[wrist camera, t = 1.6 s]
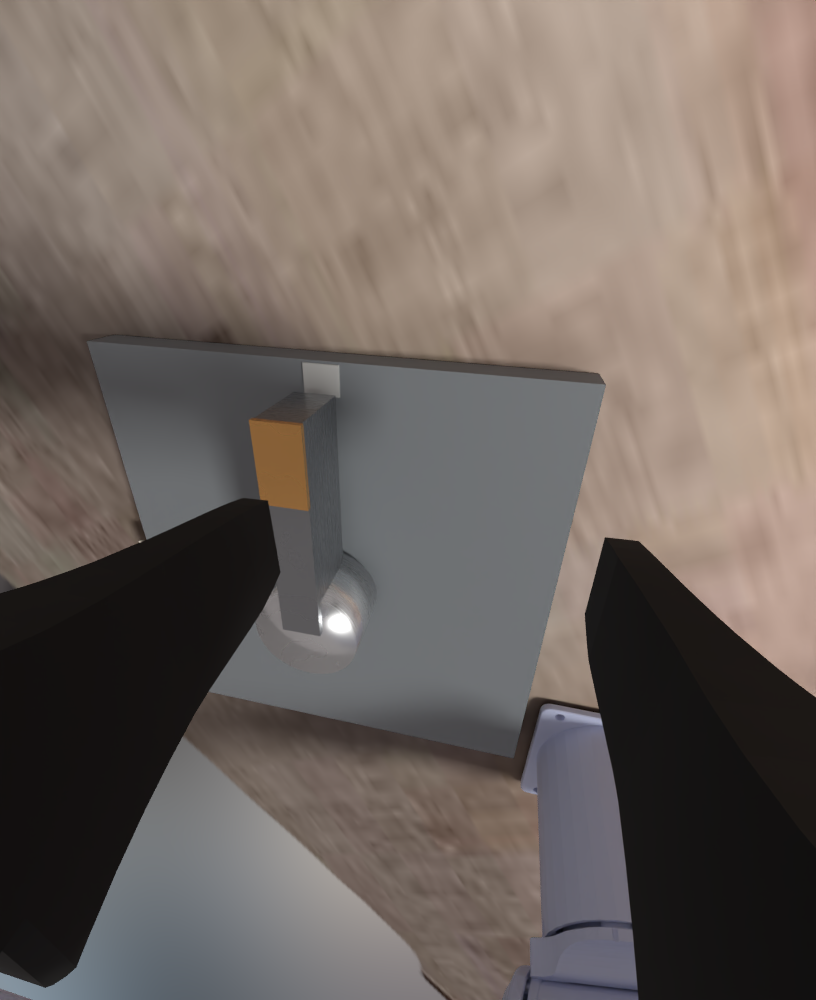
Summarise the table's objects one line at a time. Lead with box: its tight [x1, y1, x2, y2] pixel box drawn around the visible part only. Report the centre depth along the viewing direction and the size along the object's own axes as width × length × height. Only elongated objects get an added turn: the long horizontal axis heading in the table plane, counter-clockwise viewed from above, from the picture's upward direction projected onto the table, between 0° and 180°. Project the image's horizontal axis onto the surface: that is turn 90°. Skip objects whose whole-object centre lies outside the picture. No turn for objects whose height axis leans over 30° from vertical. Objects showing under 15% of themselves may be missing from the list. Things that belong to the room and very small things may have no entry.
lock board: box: [87, 335, 606, 758], centre depth 23 cm, size 20×21×2 cm
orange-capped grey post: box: [249, 392, 377, 674], centre depth 18 cm, size 4×12×4 cm, turn 179°
